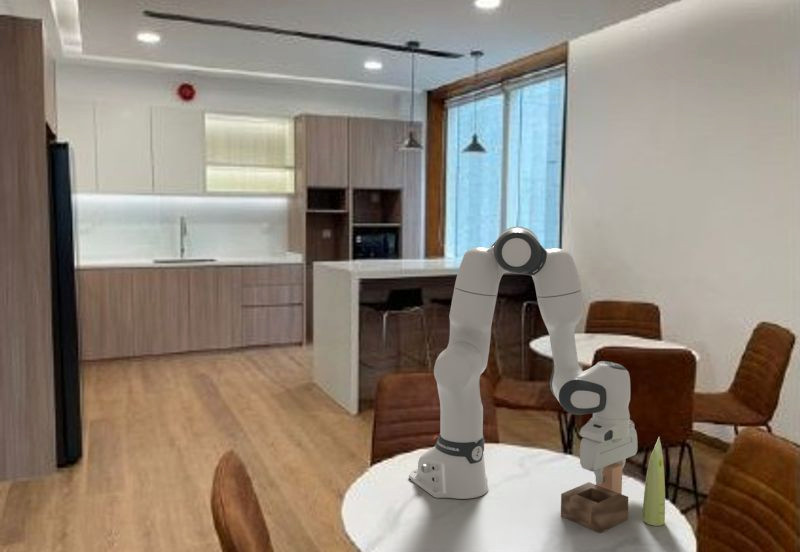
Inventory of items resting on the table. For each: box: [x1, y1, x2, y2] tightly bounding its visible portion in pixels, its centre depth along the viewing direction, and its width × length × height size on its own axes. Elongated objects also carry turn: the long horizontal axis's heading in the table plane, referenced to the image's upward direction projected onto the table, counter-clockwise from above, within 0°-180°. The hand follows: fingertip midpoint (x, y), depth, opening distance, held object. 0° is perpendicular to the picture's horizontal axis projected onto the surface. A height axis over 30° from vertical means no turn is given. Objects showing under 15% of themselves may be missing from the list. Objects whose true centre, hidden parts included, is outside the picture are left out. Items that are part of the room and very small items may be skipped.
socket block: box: [560, 482, 629, 534], centre depth 156 cm, size 11×11×6 cm
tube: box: [641, 437, 666, 527], centre depth 153 cm, size 6×5×20 cm
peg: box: [595, 463, 624, 495], centre depth 166 cm, size 4×4×9 cm
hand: (609, 479), depth 166 cm, fingers open, 6 cm apart
